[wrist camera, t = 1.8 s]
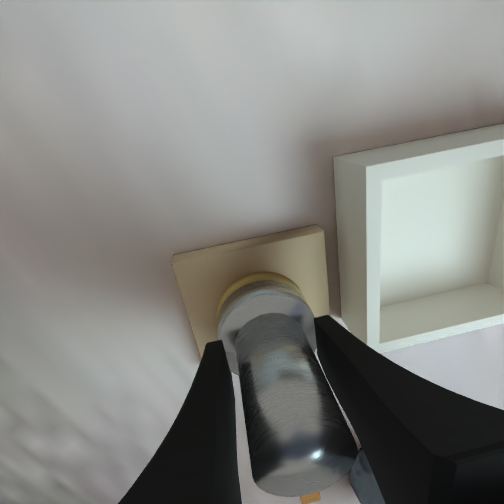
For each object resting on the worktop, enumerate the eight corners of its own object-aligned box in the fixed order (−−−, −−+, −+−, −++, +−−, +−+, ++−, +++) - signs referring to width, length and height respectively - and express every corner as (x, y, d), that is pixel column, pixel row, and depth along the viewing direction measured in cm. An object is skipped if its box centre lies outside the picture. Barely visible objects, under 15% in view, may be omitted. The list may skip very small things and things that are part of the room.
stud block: (316, 224, 15) (330, 237, 13) (325, 336, 18) (338, 358, 16) (173, 254, 14) (169, 272, 12) (207, 364, 17) (207, 390, 15)
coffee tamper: (304, 270, 13) (382, 388, 8) (312, 345, 15) (380, 487, 9) (207, 292, 13) (209, 432, 7) (227, 365, 15) (242, 525, 9)
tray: (520, 119, 14) (596, 120, 11) (487, 284, 18) (539, 314, 15) (333, 157, 13) (366, 166, 11) (341, 318, 17) (367, 356, 14)
